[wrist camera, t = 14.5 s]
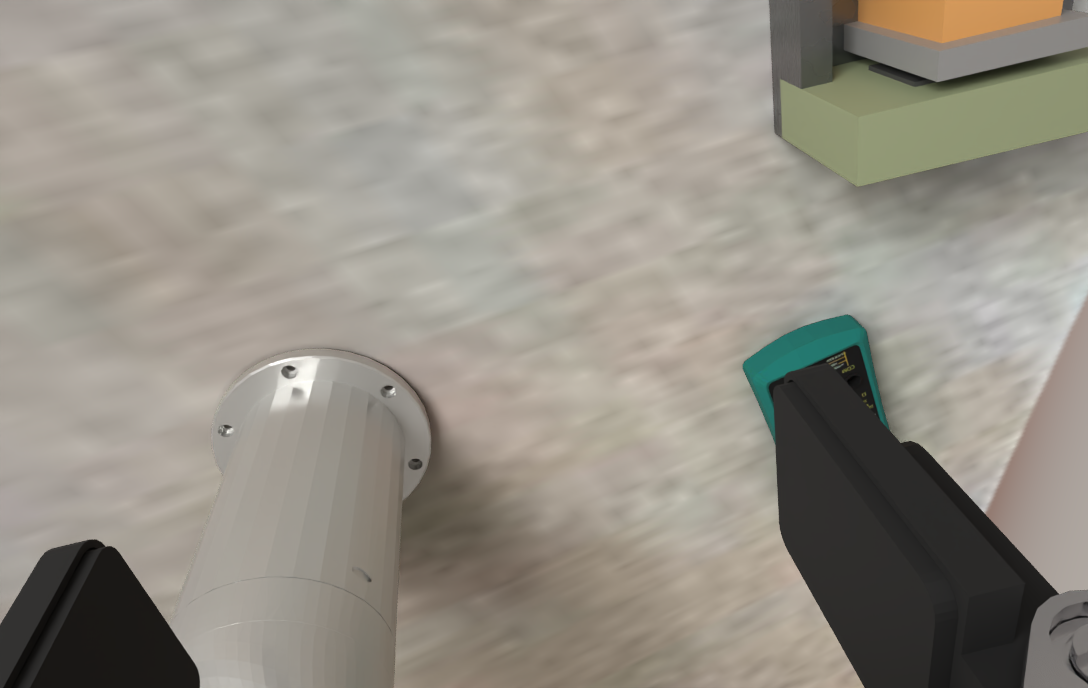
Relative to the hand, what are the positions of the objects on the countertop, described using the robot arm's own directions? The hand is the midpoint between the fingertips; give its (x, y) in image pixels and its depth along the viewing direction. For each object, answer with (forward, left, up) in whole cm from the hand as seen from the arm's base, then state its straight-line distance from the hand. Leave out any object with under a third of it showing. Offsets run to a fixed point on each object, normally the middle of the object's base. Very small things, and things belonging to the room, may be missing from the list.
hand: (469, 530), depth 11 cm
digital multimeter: (-26, -19, -31) cm, 45 cm away
